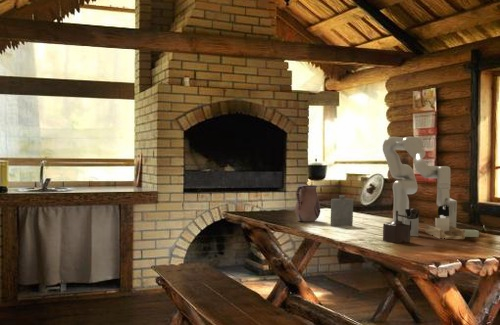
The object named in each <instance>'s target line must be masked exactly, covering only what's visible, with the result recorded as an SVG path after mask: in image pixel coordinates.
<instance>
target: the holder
mask: <svg viewBox="0 0 500 325" xmlns="http://www.w3.org/2000/svg"><path fill="white" fill-rule="evenodd" d="M462 230H465V238H469V237H470V238H479V237H480V230H476V229H466V228H464V229H463V228H462Z"/></svg>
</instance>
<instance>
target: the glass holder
mask: <svg viewBox="0 0 500 325" xmlns="http://www.w3.org/2000/svg"><path fill="white" fill-rule="evenodd" d="M411 209H412V208H409V209H405V212H404V213H405V216H410V215H411V212H410V210H411ZM416 210H417V211H418V212H417V214H416V215H415V217H413V218H406V217H405V224H407V225H410V237H419V236H420V234H419V225H420V224H419V222H420V221H419V219H420V218H419V216H420V214H419V209H416ZM404 213H403V214H404ZM403 214H402V215H403ZM402 222H403V217H402ZM403 223H404V222H403Z"/></svg>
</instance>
